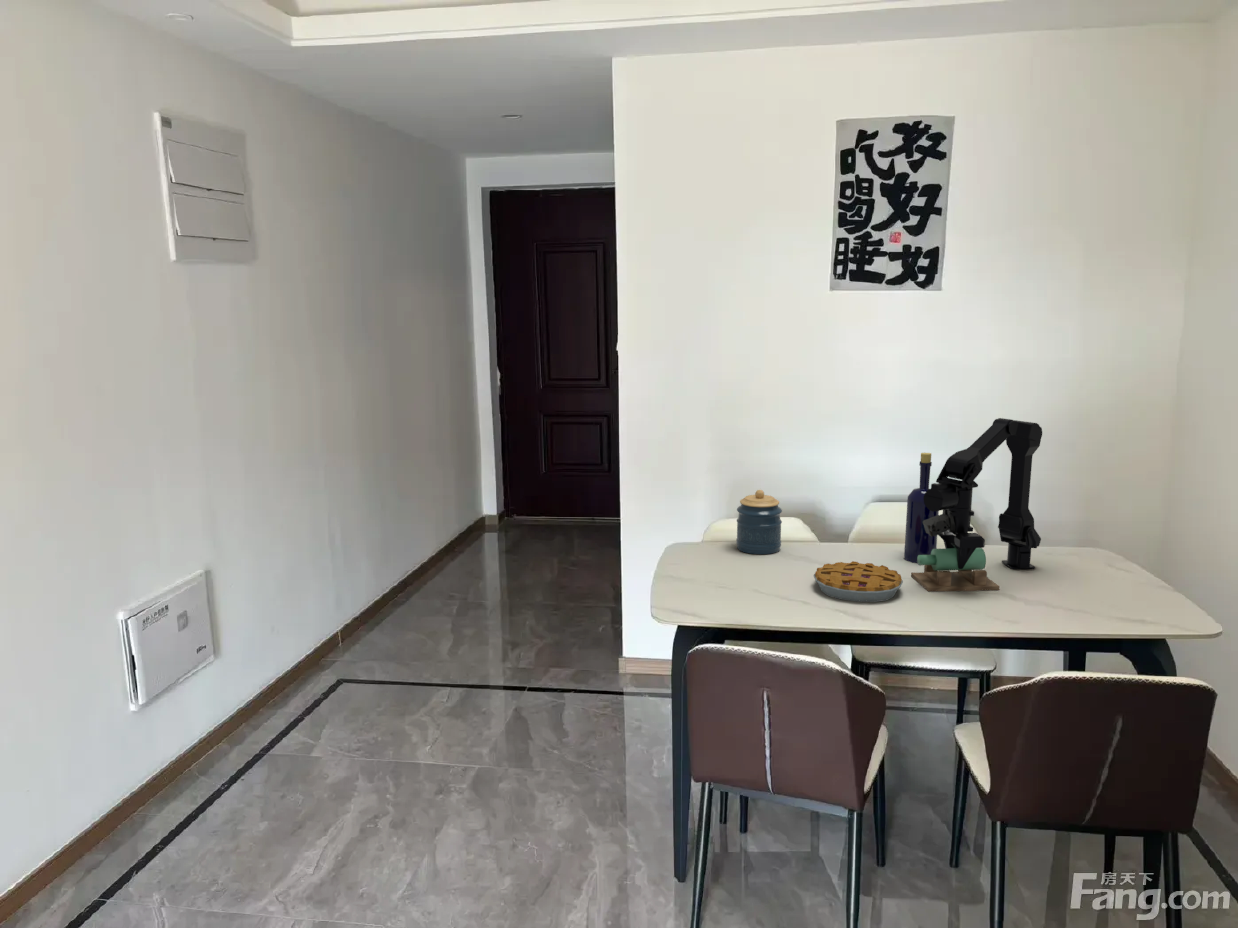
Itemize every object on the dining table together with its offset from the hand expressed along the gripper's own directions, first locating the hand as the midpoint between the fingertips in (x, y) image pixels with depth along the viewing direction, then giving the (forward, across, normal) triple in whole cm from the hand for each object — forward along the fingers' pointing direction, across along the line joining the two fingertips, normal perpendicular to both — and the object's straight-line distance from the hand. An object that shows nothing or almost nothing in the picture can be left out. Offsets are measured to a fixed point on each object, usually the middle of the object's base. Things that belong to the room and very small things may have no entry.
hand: (955, 565), depth 226 cm
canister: (+5, -34, -44) cm, 56 cm away
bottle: (+5, -21, -1) cm, 22 cm away
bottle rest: (+5, 0, 0) cm, 5 cm away
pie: (+5, +3, -26) cm, 27 cm away
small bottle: (+1, 0, -2) cm, 2 cm away
